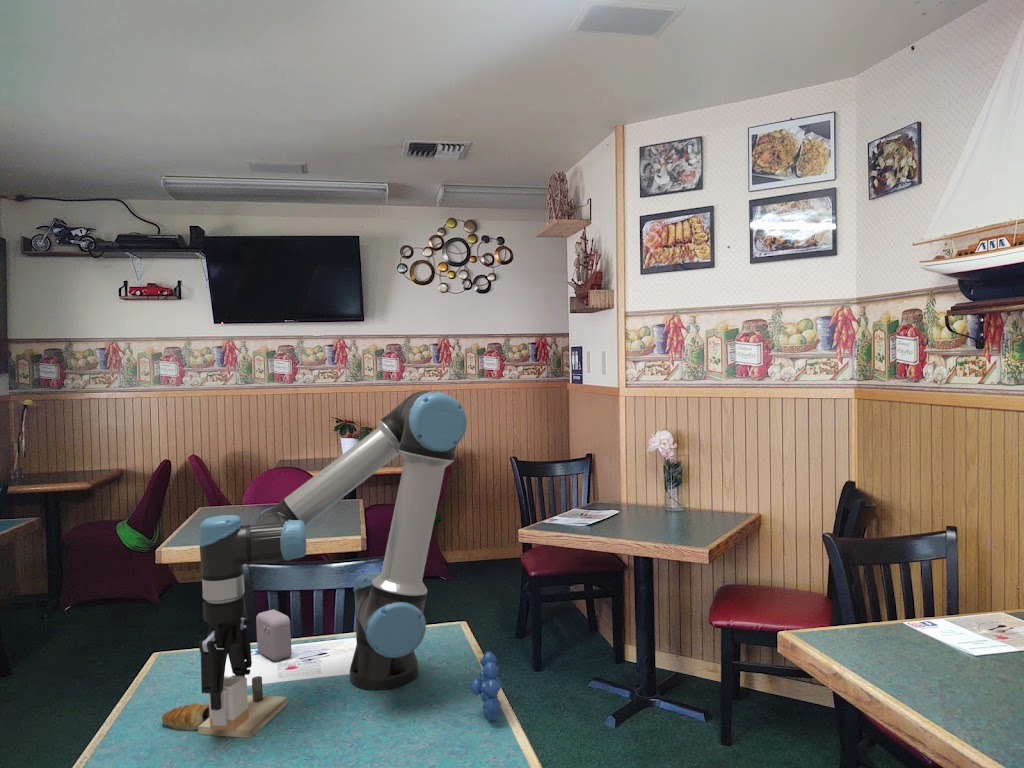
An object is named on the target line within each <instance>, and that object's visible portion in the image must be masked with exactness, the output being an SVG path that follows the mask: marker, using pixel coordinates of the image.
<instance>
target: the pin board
mask: <svg viewBox="0 0 1024 768" xmlns="http://www.w3.org/2000/svg"><path fill="white" fill-rule="evenodd" d="M251 688H252V689H251V690H252V691H251V692H252V693H251V694H247V695H248V716H249V718H248V719H247V720H246V721H244V722H243V723H242V724H241V725H240V726H239V727H237V728H236V729H235V730H220V729H210V718H208V719H207V720H206V721H204V722H203V723H202V724H201V725H199V726H198V730H197V731H198V735H203V736H204V735H207V736H218V737H219V736H220V737H229V738H230V737H233V738H245V739H247V738H248V739H251V738H253V736H254V735H256V734H257V733H258V732H259V730H261V729H262V728H263V727H265V725H266V724H267V723H269V721H271V720H272V719H273V718H274V717H276V716H277V715H278V714H279V712H281V711H282V710H283V709H284V708H285V707H286V706H287V705H288V697H287V696H277V695H276V696H275V695H264V693H263V692H264V691H263V688H264V687H263V677H262V676H261V675H259V676H254V677H252V678H251Z"/></svg>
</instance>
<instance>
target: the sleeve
mask: <svg viewBox="0 0 1024 768" xmlns="http://www.w3.org/2000/svg"><path fill="white" fill-rule="evenodd" d="M223 690H226V702H227V723H228V724H227V725H226V726H218V725H212V710H211V700H210V694H209V693H208V703H209V712H210V729H220V730H235V729H236V728H237V727H239V726H240V725H241V724H242V723H243V722H244V721H246V720H247V719H248V718H249V716H248V695H249V694H248V678H247V677H246V676H245V677H231V676H227V675H224V683H223Z"/></svg>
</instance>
